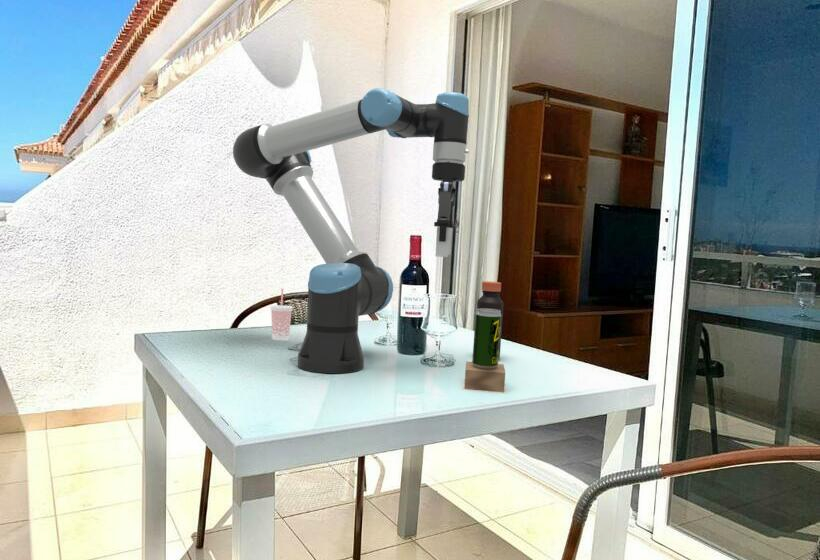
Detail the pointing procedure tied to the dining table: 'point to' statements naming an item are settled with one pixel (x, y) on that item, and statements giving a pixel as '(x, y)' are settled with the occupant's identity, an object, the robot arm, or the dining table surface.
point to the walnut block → (484, 378)
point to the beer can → (486, 338)
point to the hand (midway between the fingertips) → (443, 255)
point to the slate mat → (481, 390)
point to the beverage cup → (281, 320)
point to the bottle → (491, 300)
